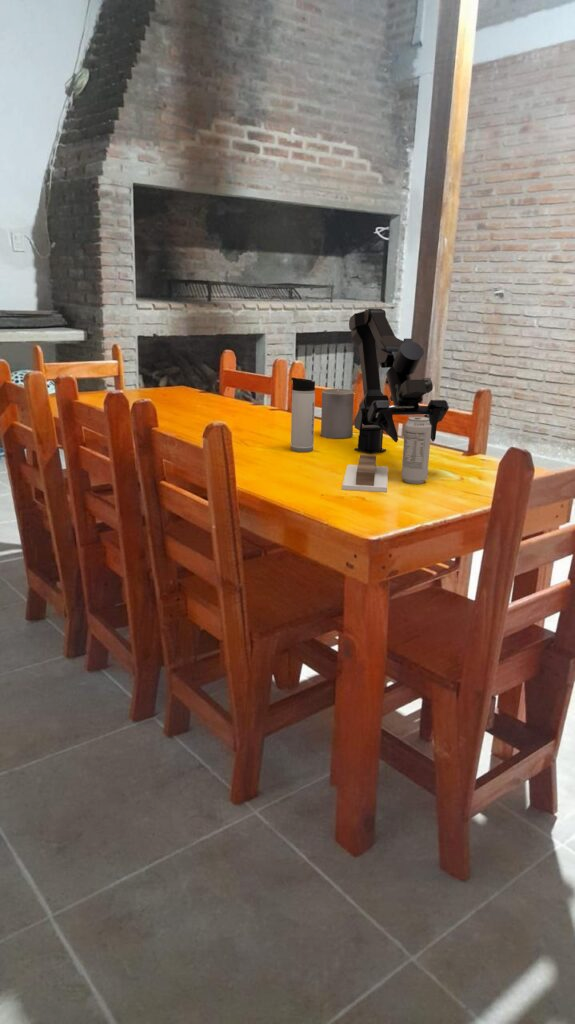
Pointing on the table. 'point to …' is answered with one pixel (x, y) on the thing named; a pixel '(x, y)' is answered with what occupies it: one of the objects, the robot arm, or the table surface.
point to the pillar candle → (337, 413)
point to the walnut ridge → (366, 470)
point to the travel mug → (302, 415)
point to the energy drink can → (416, 450)
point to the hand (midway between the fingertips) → (415, 440)
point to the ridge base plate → (379, 485)
